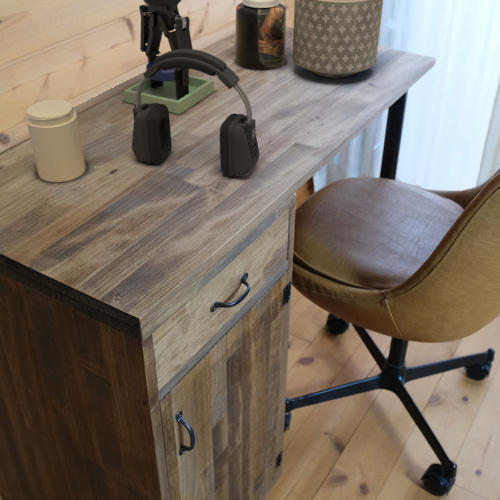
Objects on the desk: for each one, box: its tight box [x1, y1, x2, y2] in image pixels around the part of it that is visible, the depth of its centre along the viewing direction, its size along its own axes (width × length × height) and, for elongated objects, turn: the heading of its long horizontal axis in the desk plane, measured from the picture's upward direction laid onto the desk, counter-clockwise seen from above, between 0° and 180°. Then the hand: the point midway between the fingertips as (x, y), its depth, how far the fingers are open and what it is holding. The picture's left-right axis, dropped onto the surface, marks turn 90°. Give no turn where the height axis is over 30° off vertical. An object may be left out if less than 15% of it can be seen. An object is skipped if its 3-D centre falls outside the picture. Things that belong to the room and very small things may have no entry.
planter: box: [292, 0, 384, 79], centre depth 144 cm, size 19×19×18 cm
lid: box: [145, 61, 190, 81], centre depth 134 cm, size 9×9×2 cm
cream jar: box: [25, 99, 87, 183], centre depth 108 cm, size 8×8×12 cm
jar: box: [235, 0, 287, 71], centre depth 151 cm, size 12×12×15 cm
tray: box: [123, 75, 215, 115], centre depth 137 cm, size 14×14×2 cm
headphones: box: [131, 48, 260, 178], centre depth 108 cm, size 22×6×20 cm, turn 72°
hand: (169, 92), depth 137 cm, fingers closed on lid, 9 cm apart
